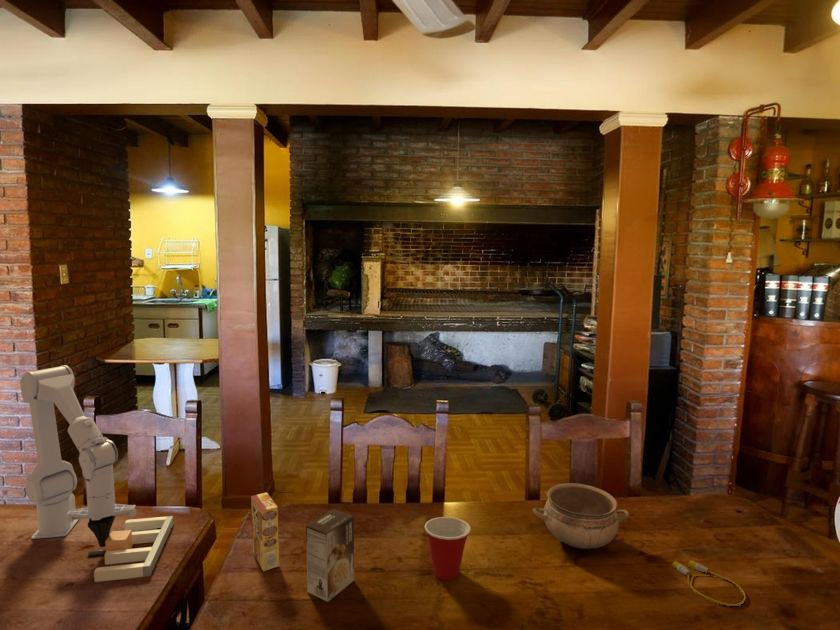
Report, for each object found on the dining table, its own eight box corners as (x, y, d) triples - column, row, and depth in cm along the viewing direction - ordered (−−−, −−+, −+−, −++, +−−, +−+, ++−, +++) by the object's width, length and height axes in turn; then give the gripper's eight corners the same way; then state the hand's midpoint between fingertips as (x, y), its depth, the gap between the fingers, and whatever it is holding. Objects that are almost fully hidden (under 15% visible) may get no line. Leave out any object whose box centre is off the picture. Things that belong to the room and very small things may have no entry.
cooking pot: (539, 562, 129) (542, 515, 128) (524, 522, 148) (526, 481, 147) (640, 564, 129) (644, 518, 128) (613, 524, 148) (616, 483, 147)
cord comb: (126, 528, 141) (126, 519, 140) (173, 524, 143) (172, 515, 143) (94, 582, 119) (93, 571, 118) (150, 576, 121) (149, 566, 121)
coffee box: (333, 571, 124) (333, 507, 122) (354, 580, 121) (355, 515, 119) (306, 592, 117) (305, 524, 114) (327, 603, 113) (327, 533, 111)
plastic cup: (467, 559, 130) (468, 514, 128) (470, 588, 119) (472, 538, 118) (423, 558, 130) (424, 512, 128) (423, 586, 119) (424, 537, 118)
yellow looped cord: (719, 567, 130) (720, 559, 130) (757, 610, 115) (758, 602, 114) (669, 564, 131) (670, 557, 130) (700, 608, 115) (701, 599, 115)
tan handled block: (91, 550, 131) (90, 533, 130) (132, 546, 132) (131, 529, 132) (84, 560, 126) (83, 543, 126) (126, 556, 128) (125, 539, 128)
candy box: (280, 566, 126) (279, 506, 123) (262, 572, 123) (261, 511, 121) (268, 548, 133) (267, 491, 131) (251, 553, 130) (250, 495, 128)
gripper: (59, 502, 122) (63, 557, 123) (128, 497, 125) (131, 550, 127) (72, 488, 128) (76, 540, 130) (137, 484, 132) (140, 534, 133)
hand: (104, 544), depth 129 cm, fingers closed
